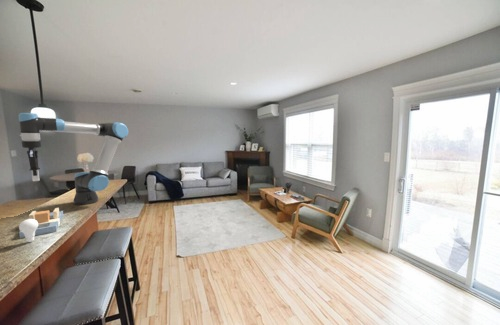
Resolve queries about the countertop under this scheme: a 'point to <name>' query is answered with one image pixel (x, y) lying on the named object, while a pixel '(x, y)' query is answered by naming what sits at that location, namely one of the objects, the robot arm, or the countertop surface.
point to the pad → (48, 223)
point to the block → (42, 216)
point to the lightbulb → (29, 229)
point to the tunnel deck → (51, 227)
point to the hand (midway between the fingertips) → (36, 180)
